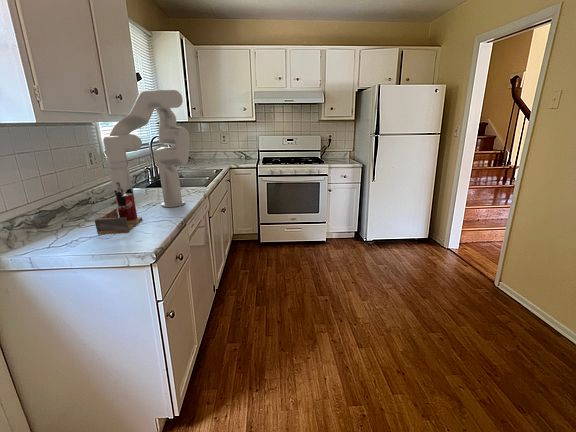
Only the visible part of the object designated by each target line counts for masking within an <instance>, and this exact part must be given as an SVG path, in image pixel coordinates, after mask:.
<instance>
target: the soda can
mask: <svg viewBox="0 0 576 432" xmlns="http://www.w3.org/2000/svg"><path fill="white" fill-rule="evenodd" d="M133 194H134V193H133ZM133 194H132V193H124V197H125V200H126V204H127V205H126V206H119V205H118V201H117V198H116V197H115V201H116V206H117V207H116V208H117V212H118V217H119V218H120V217H127V222H130V221H134V220H136V219H137V217H138V212H137V208H136V201H135V195H133Z"/></svg>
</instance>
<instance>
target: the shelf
mask: <svg viewBox="0 0 576 432" xmlns="http://www.w3.org/2000/svg"><path fill="white" fill-rule="evenodd" d="M142 221H143V217H142V216H139V217H138V216H137V219H136V220H134V221H130V222H127V217H119V212H118V207H115V208H114V207H113V208H112V209H110V210H109V211H106V212H105V213H104V214H102V215H100V216H98V217H96V218H95V219H94V224H95V227H96V228H95V229H96V233H97V235H98V236H100V235H101V236H102V235H116V234H128V233H130V232H131V231H132V230H133V229H134V228H135V227H136V226H137V225H138V224H140V223H141V222H142Z"/></svg>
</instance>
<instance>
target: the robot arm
mask: <svg viewBox="0 0 576 432" xmlns="http://www.w3.org/2000/svg"><path fill="white" fill-rule="evenodd" d="M183 102H184V100H183V96H182V94H181V92H180V91H178V90H176V89H153V90H150V89H149V90H142V91H141V92H140V93H139V94H138V96H137V97H136V100H135V102H134V104H133V106H132V108H131V109H130V112H129V113H128V114H127V115H125V116H124V117H123V118H122V119H121V120H119V121H117V123H116V124H115V125H114V126H113V128H112V130H111V131H110V134H109V136H105V137H103V142H102V143H103V146H104V151H105V153H106V158H107V163H108V166H109V171H110V180H111V187H112V192H114V195H115V199H116V198H117V201H118V205H119V206H126V205H127V204H126V200H125V197H124V192H125V191H127V192H126V193H132V194H133V195H134V188H133V183H132V181H133V180H132V177H131V174H130V171H129V168H130V167H129V161H128V156H127V152H136V151H139V150H140V149H141V148H142V144H143V142H142V139H141V137H139V136H138V135H137V134H133V133H132V132H135V131H136V130H138V129H141V128H143V127H145V126H146V125H148V124H149V123H150V120H151V118H152V115H153V113H154V111H156V113H157V114H158V118H159V121H158V122H159V124H158V126H159V127H158V139H159V142H160V143H161V144H162V145H165V147H164V146H163V147H158V149H156V150H155V152H154V158H155V162H156V165H157V167H158V172H159V177H160V178H159V179H160V185H161V190H162V198H163V202H162V203H160V204H161V207H163V208H175V207H181V206H183V205H185V204H186V201H185V200H183V199H182V198H183V197H182V190H181V184H180V177H179V171H178V169H177V168H176V166H185V165H186V164H187V163H188V161H189V159H190V158H189V157H190V156H189V155H190V134H189V131H188V130H187V129H186V128H185V127H184V126H177V117H176V116H177V115H175V113H174V111H173V110H172V109H175V108H180V107H182V105H183ZM130 133H132V134H130ZM166 146H167V147H166ZM168 146H169V147H168ZM170 146H171V147H170ZM120 192H122V193H120ZM134 196H135V195H134Z"/></svg>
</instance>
